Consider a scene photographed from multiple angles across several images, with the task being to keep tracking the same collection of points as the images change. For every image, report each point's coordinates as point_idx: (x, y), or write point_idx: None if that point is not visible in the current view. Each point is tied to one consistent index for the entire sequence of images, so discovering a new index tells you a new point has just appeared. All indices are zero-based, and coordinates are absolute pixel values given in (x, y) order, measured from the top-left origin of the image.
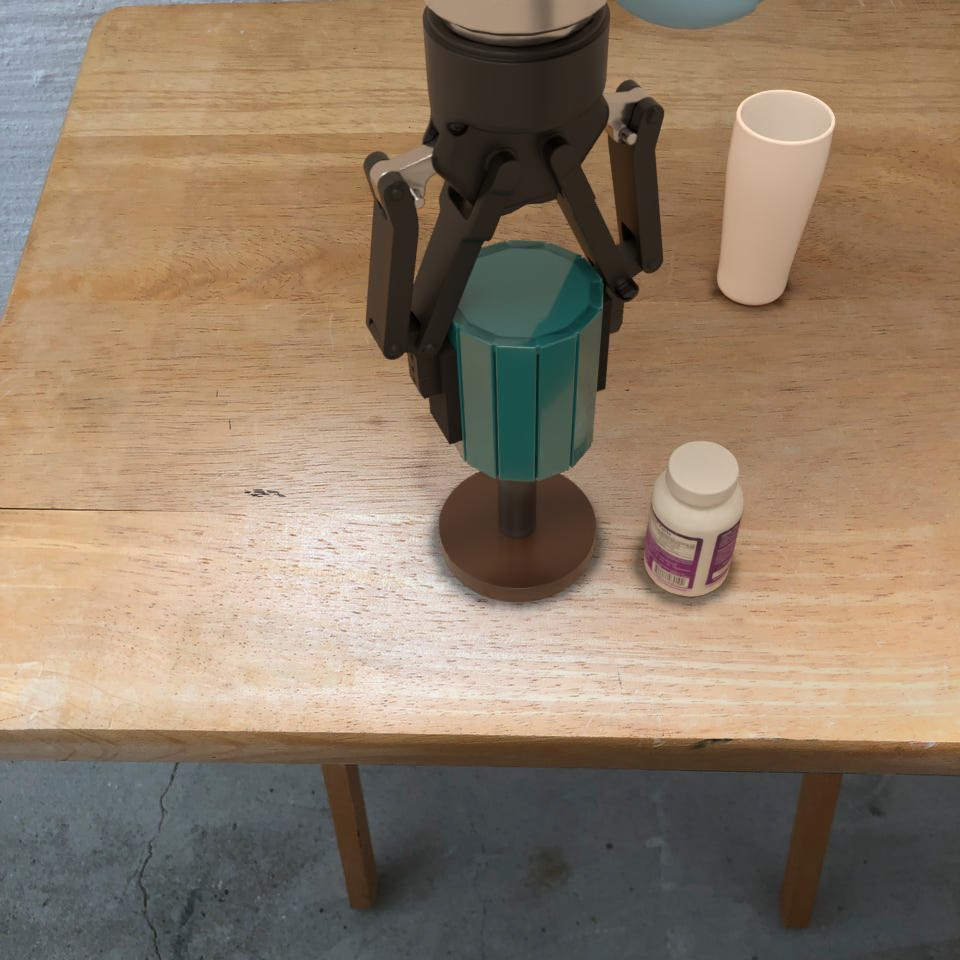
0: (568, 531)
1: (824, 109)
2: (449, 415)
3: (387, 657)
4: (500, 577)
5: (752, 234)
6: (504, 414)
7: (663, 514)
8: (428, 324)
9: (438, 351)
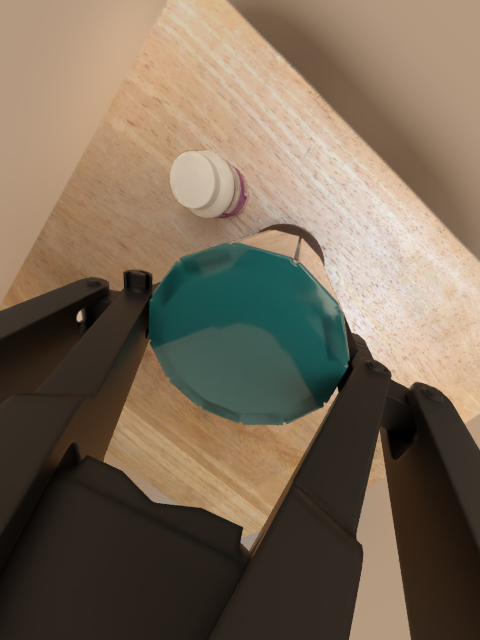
0: None
1: None
2: None
3: (389, 252)
4: (312, 247)
5: (80, 313)
6: (322, 268)
7: (231, 187)
8: (386, 395)
9: (362, 358)
